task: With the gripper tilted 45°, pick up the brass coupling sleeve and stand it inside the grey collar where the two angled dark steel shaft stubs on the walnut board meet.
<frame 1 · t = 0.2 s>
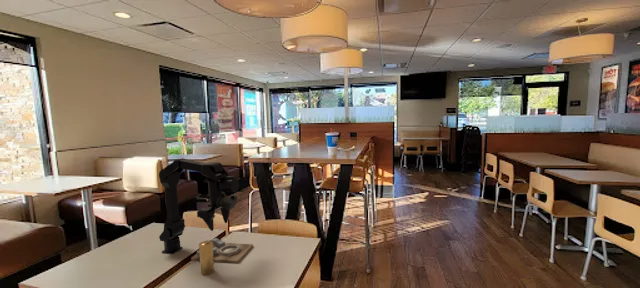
hand: (219, 226, 123), 14 cm above the table, tool pointing down, fingers open, 9 cm apart
brass sleeve: (207, 271, 113), on the table
shaft board: (229, 253, 128), on the table
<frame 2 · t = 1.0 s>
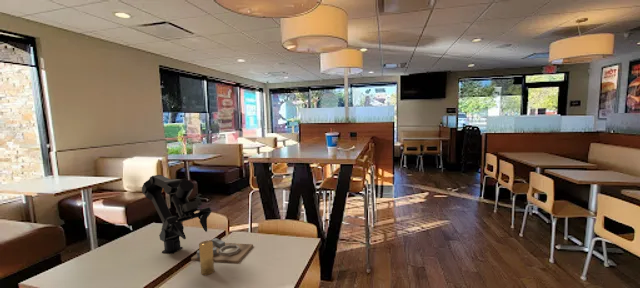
hand: (196, 234, 117), 13 cm above the table, tool tilted 45°, fingers open, 9 cm apart
nothing on the table moved.
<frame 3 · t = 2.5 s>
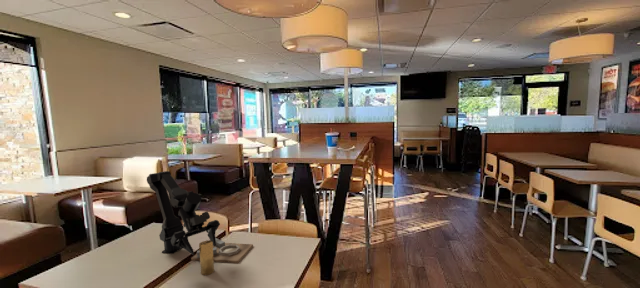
hand: (204, 249, 113), 9 cm above the table, tool tilted 45°, fingers open, 9 cm apart
nothing on the table moved.
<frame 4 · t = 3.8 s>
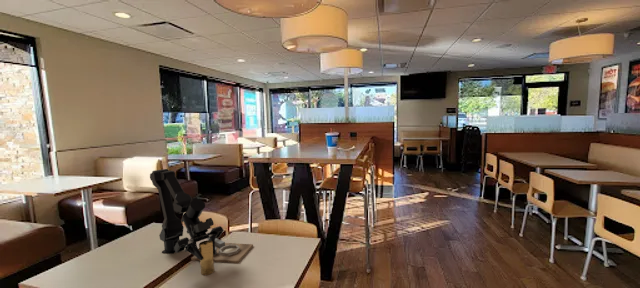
hand: (208, 257, 111), 7 cm above the table, tool tilted 45°, fingers closed on brass sleeve, 5 cm apart
brass sleeve: (207, 271, 113), on the table, touching gripper
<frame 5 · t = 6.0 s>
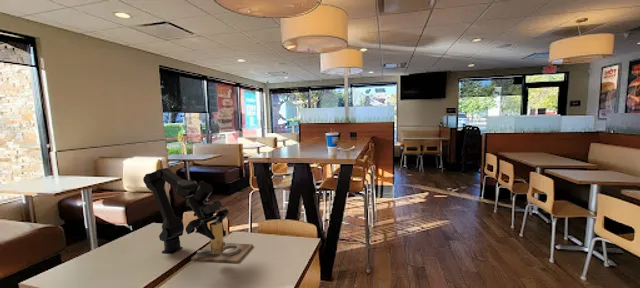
hand: (219, 236, 116), 12 cm above the table, tool tilted 45°, fingers closed on brass sleeve, 5 cm apart
brass sleeve: (217, 251, 118), point 6 cm above the table, touching gripper
when the fingers open (9 cm above the table, at t = 8.1 s): brass sleeve drops 1 cm, resting on shaft board.
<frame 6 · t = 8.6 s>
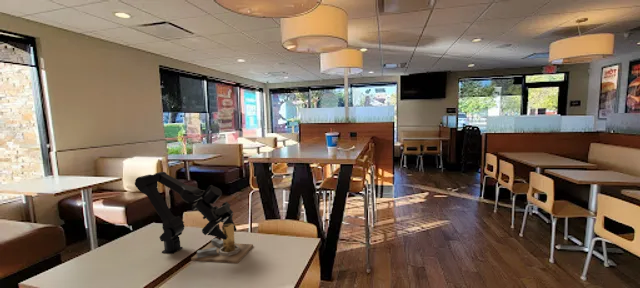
hand: (231, 234, 127), 9 cm above the table, tool tilted 45°, fingers open, 9 cm apart
brass sleeve: (229, 250, 128), point 1 cm above the table, touching shaft board
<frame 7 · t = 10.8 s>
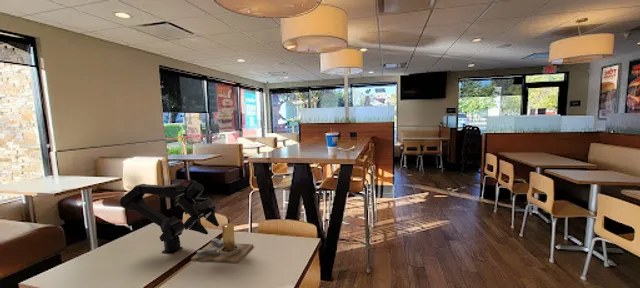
hand: (213, 229, 128), 11 cm above the table, tool tilted 45°, fingers open, 9 cm apart
nothing on the table moved.
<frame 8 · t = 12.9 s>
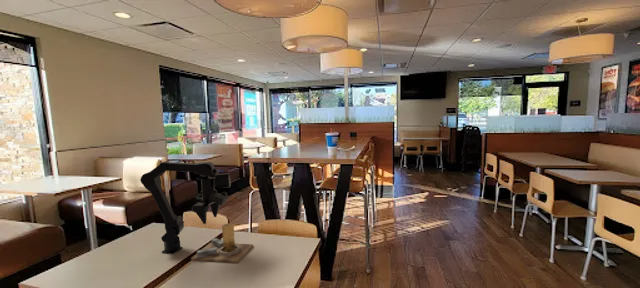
hand: (210, 220, 135), 13 cm above the table, tool pointing down, fingers open, 9 cm apart
nothing on the table moved.
at the end: brass sleeve 0.1 cm off-centre on the shaft board, point 1.1 cm above the shaft board's base; brass sleeve tilted 0°; the gripper is holding nothing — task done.
